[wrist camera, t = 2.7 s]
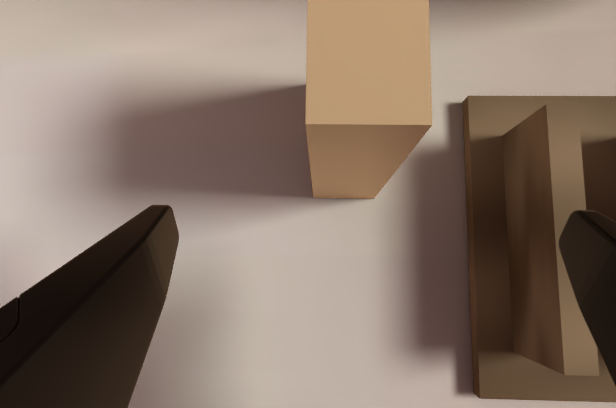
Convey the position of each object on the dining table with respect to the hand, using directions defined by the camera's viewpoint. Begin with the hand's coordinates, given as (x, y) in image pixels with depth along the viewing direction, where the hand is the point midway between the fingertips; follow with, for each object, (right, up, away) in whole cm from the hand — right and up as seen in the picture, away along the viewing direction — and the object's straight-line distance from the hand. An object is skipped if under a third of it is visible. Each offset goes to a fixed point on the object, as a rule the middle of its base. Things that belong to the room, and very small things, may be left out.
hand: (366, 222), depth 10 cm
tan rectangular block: (0, +4, +12) cm, 12 cm away
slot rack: (+11, -1, +11) cm, 16 cm away
